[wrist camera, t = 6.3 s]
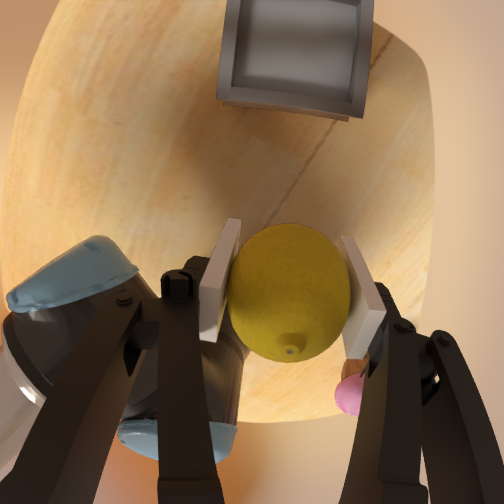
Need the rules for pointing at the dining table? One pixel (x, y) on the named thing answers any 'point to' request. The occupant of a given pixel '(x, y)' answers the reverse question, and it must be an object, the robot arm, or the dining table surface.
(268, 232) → the lemon
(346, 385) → the cupcake
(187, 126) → the dining table surface
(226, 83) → the grey storage bin
